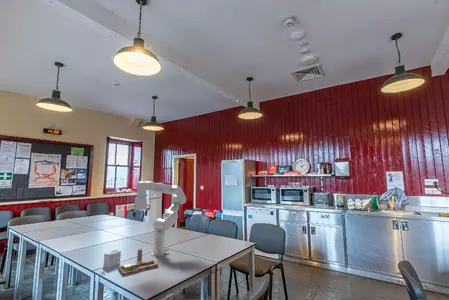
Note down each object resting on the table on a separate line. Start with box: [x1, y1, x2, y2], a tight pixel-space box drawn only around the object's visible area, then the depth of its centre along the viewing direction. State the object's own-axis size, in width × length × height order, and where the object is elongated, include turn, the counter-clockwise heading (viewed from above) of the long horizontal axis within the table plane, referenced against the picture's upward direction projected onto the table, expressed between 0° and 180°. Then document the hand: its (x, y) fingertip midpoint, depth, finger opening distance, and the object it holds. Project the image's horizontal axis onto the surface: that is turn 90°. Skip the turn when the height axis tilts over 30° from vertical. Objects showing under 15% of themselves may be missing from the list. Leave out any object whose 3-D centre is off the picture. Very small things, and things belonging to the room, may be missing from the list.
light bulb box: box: [102, 249, 122, 269], centre depth 177 cm, size 11×7×11 cm, turn 157°
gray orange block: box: [136, 248, 143, 264], centre depth 184 cm, size 3×5×11 cm, turn 37°
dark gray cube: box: [129, 262, 137, 271], centre depth 168 cm, size 4×4×4 cm
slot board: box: [117, 259, 159, 277], centre depth 171 cm, size 26×14×3 cm, turn 127°
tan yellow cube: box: [122, 263, 131, 272], centre depth 166 cm, size 4×4×4 cm
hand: (140, 216), depth 194 cm, fingers open, 9 cm apart
